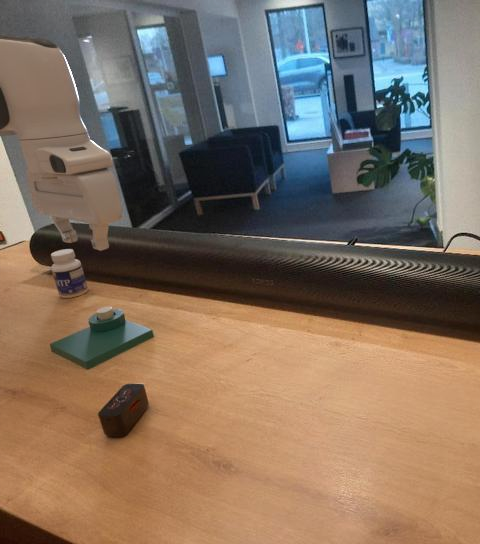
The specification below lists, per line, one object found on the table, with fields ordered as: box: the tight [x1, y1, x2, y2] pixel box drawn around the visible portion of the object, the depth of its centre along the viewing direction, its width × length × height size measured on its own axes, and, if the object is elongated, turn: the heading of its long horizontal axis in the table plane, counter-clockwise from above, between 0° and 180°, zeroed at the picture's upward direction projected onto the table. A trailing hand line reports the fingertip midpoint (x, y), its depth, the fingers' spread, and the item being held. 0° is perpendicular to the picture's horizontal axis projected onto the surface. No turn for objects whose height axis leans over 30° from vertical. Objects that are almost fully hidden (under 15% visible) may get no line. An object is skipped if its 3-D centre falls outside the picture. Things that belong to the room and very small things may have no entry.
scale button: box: [95, 306, 114, 320], centre depth 82 cm, size 2×2×2 cm
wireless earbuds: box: [97, 383, 150, 437], centre depth 60 cm, size 5×7×3 cm, turn 175°
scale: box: [49, 308, 155, 370], centre depth 79 cm, size 11×11×3 cm
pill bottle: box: [50, 248, 89, 299], centre depth 99 cm, size 5×5×9 cm
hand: (86, 245), depth 78 cm, fingers open, 8 cm apart
